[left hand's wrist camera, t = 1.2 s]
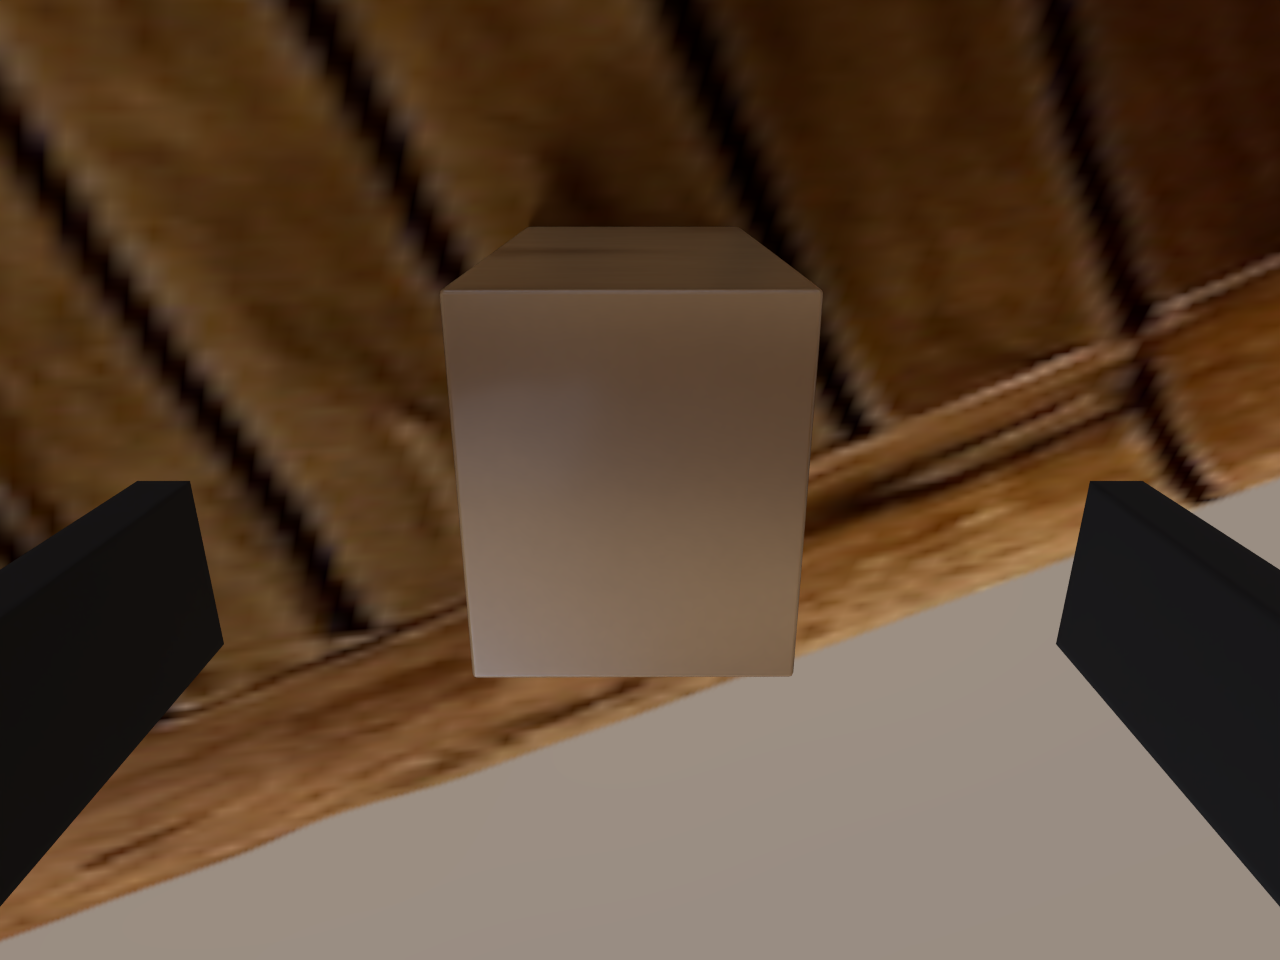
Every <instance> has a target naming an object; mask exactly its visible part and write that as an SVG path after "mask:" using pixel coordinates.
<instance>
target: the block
mask: <svg viewBox="0 0 1280 960" xmlns="http://www.w3.org/2000/svg"><path fill="white" fill-rule="evenodd" d="M822 302H823V292H822V290H821V289H820V288H819V287H817V286H816V285H815V284H813V283H812V282H811V281H809V280H808V279H807V278H805V277H804V276H803V275H801V274H800V273H799V272H798V271H796V270H795V269H794V268H792V267H791V266H790V265H788V264H787V263H786V262H784V261H783V260H782V259H780V258H779V257H778V256H776V255H775V254H774V253H772V252H771V251H770V250H768V249H767V248H766V247H764V246H763V245H762V244H761V243H759V242H758V241H757V240H755V239H754V238H753V237H751V236H750V235H749V234H747V233H746V232H745V231H743V230H742V229H741V228H739V227H528V228H526V229H525V230H523V231H522V232H520V233H519V234H518V235H516V236H515V237H514V238H512V239H511V240H509V241H508V242H507V243H505V244H504V245H503V246H501V247H500V248H498V249H497V250H496V251H494V252H493V253H492V254H490V255H489V256H487V257H486V258H485V259H483V260H482V261H481V262H479V263H478V264H476V265H475V266H474V267H472V268H471V269H470V270H468V271H467V272H465V273H464V274H463V275H461V276H460V277H459V278H457V279H456V280H454V281H453V282H452V283H450V284H449V285H448V286H446V287H445V288H443V289H442V290H441V291H440V305H441V317H442V328H443V340H444V351H445V362H446V374H447V385H448V397H449V408H450V419H451V431H452V442H453V454H454V465H455V476H456V488H457V499H458V511H459V522H460V533H461V545H462V556H463V567H464V579H465V590H466V602H467V613H468V624H469V636H470V647H471V659H472V670H473V675H474V677H761V676H762V677H767V676H791V675H792V673H793V667H794V655H795V642H796V630H797V617H798V604H799V592H800V579H801V567H802V554H803V541H804V529H805V516H806V504H807V491H808V478H809V466H810V453H811V441H812V428H813V415H814V403H815V390H816V378H817V365H818V353H819V340H820V327H821V315H822Z"/></svg>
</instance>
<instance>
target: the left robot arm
mask: <svg viewBox="0 0 1280 960" xmlns="http://www.w3.org/2000/svg"><path fill="white" fill-rule="evenodd" d="M223 644H224V642H223V637H222V632H221V628H220V623H219V618H218V613H217V609H216V604H215V599H214V594H213V589H212V585H211V580H210V575H209V570H208V566H207V561H206V556H205V551H204V546H203V542H202V537H201V532H200V527H199V522H198V518H197V513H196V508H195V503H194V499H193V494H192V489H191V484H190V481H137V482H135V483H134V484H132V485H131V486H129V487H127V488H126V489H124V490H123V491H121V492H120V493H118V494H117V495H115V496H114V497H112V498H110V499H109V500H107V501H106V502H104V503H103V504H101V505H100V506H98V507H97V508H95V509H93V510H92V511H90V512H89V513H87V514H86V515H84V516H83V517H81V518H80V519H78V520H76V521H75V522H73V523H72V524H70V525H69V526H67V527H66V528H64V529H63V530H61V531H59V532H58V533H56V534H55V535H53V536H52V537H50V538H49V539H47V540H46V541H44V542H42V543H41V544H39V545H38V546H36V547H35V548H33V549H32V550H30V551H29V552H27V553H25V554H24V555H22V556H21V557H19V558H18V559H16V560H15V561H13V562H12V563H10V564H8V565H7V566H5V567H4V568H2V569H1V570H0V906H1V905H2V904H3V903H4V901H5V900H6V899H7V898H8V897H9V896H10V894H11V893H12V892H13V891H14V890H15V889H16V887H17V886H18V885H19V884H20V883H21V881H22V880H23V879H24V878H25V877H26V876H27V874H28V873H29V872H30V871H31V870H32V869H33V867H34V866H35V865H36V864H37V863H38V862H39V860H40V859H41V858H42V857H43V856H44V855H45V853H46V852H47V851H48V850H49V849H50V847H51V846H52V845H53V844H54V843H55V842H56V840H57V839H58V838H59V837H60V836H61V835H62V833H63V832H64V831H65V830H66V829H67V828H68V826H69V825H70V824H71V823H72V822H73V820H74V819H75V818H76V817H77V816H78V815H79V813H80V812H81V811H82V810H83V809H84V808H85V806H86V805H87V804H88V803H89V802H90V801H91V799H92V798H93V797H94V796H95V795H96V793H97V792H98V791H99V790H100V789H101V788H102V786H103V785H104V784H105V783H106V782H107V781H108V779H109V778H110V777H111V776H112V775H113V774H114V772H115V771H116V770H117V769H118V768H119V767H120V765H121V764H122V763H123V762H124V761H125V759H126V758H127V757H128V756H129V755H130V754H131V752H132V751H133V750H134V749H135V748H136V747H137V745H138V744H139V743H140V742H141V741H142V740H143V738H144V737H145V736H146V735H147V734H148V732H149V731H150V730H151V729H152V728H153V727H154V725H155V724H156V723H157V722H158V721H159V720H160V718H161V717H162V716H163V715H164V714H165V713H166V711H167V710H168V709H169V708H170V707H171V706H172V704H173V703H174V702H175V701H176V700H177V698H178V697H179V696H180V695H181V694H182V693H183V691H184V690H185V689H186V688H187V687H188V686H189V684H190V683H191V682H192V681H193V680H194V679H195V677H196V676H197V675H198V674H199V673H200V671H201V670H202V669H203V668H204V667H205V666H206V664H207V663H208V662H209V661H210V660H211V659H212V657H213V656H214V655H215V654H216V653H217V652H218V650H219V649H220V648H221V647H222V646H223ZM1056 644H1057V646H1058V647H1059V648H1060V649H1061V650H1062V652H1063V653H1064V654H1065V655H1066V656H1067V657H1068V659H1069V660H1070V661H1071V662H1072V663H1073V664H1074V666H1075V667H1076V668H1077V669H1078V670H1079V671H1080V673H1081V674H1082V675H1083V676H1084V677H1085V679H1086V680H1087V681H1088V682H1089V683H1090V684H1091V686H1092V687H1093V688H1094V689H1095V690H1096V691H1097V692H1098V694H1099V695H1100V696H1101V697H1102V698H1103V700H1104V701H1105V702H1106V703H1107V704H1108V706H1109V707H1110V708H1111V709H1112V710H1113V711H1114V713H1115V714H1116V715H1117V716H1118V717H1119V718H1120V720H1121V721H1122V722H1123V723H1124V724H1125V725H1126V727H1127V728H1128V729H1129V730H1130V731H1131V732H1132V734H1133V735H1134V736H1135V737H1136V738H1137V739H1138V741H1139V742H1140V743H1141V744H1142V745H1143V747H1144V748H1145V749H1146V750H1147V751H1148V752H1149V754H1150V755H1151V756H1152V757H1153V758H1154V759H1155V761H1156V762H1157V763H1158V764H1159V765H1160V767H1161V768H1162V769H1163V770H1164V771H1165V772H1166V774H1167V775H1168V776H1169V777H1170V778H1171V779H1172V781H1173V782H1174V783H1175V784H1176V785H1177V786H1178V788H1179V789H1180V790H1181V791H1182V792H1183V793H1184V795H1185V796H1186V797H1187V798H1188V799H1189V800H1190V802H1191V803H1192V804H1193V805H1194V806H1195V808H1196V809H1197V810H1198V811H1199V812H1200V813H1201V815H1202V816H1203V817H1204V818H1205V819H1206V820H1207V822H1208V823H1209V824H1210V825H1211V826H1212V828H1213V829H1214V830H1215V831H1216V832H1217V833H1218V835H1219V836H1220V837H1221V838H1222V839H1223V840H1224V842H1225V843H1226V844H1227V845H1228V846H1229V847H1230V849H1231V850H1232V851H1233V852H1234V853H1235V855H1236V856H1237V857H1238V858H1239V859H1240V860H1241V862H1242V863H1243V864H1244V865H1245V866H1246V867H1247V869H1248V870H1249V871H1250V872H1251V873H1252V874H1253V876H1254V877H1255V878H1256V879H1257V880H1258V881H1259V883H1260V884H1261V885H1262V886H1263V887H1264V889H1265V890H1266V891H1267V892H1268V893H1269V894H1270V896H1271V897H1272V898H1273V899H1274V900H1275V901H1276V903H1277V904H1278V905H1279V906H1280V570H1279V569H1278V568H1276V567H1275V566H1273V565H1272V564H1270V563H1268V562H1267V561H1265V560H1264V559H1262V558H1261V557H1259V556H1258V555H1256V554H1255V553H1253V552H1251V551H1250V550H1248V549H1247V548H1245V547H1244V546H1242V545H1241V544H1239V543H1238V542H1236V541H1234V540H1233V539H1231V538H1230V537H1228V536H1227V535H1225V534H1224V533H1222V532H1221V531H1219V530H1217V529H1216V528H1214V527H1213V526H1211V525H1210V524H1208V523H1207V522H1205V521H1204V520H1202V519H1200V518H1199V517H1197V516H1196V515H1194V514H1193V513H1191V512H1190V511H1188V510H1187V509H1185V508H1183V507H1182V506H1180V505H1179V504H1177V503H1176V502H1174V501H1173V500H1171V499H1170V498H1168V497H1166V496H1165V495H1163V494H1162V493H1160V492H1159V491H1157V490H1156V489H1154V488H1153V487H1151V486H1149V485H1148V484H1146V483H1145V482H1143V481H1090V484H1089V489H1088V494H1087V499H1086V503H1085V508H1084V513H1083V518H1082V522H1081V527H1080V532H1079V537H1078V542H1077V546H1076V551H1075V556H1074V561H1073V566H1072V570H1071V575H1070V580H1069V585H1068V590H1067V594H1066V599H1065V604H1064V609H1063V613H1062V618H1061V623H1060V628H1059V632H1058V637H1057V642H1056Z"/></svg>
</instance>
